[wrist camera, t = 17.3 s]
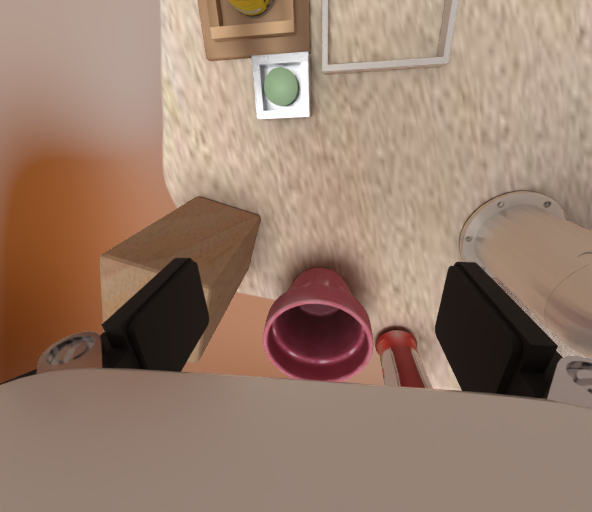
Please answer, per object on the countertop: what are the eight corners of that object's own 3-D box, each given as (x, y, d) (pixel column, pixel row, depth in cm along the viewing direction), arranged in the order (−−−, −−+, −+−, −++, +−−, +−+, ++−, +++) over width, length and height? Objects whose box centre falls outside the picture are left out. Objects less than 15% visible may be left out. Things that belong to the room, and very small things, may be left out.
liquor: (414, 355, 50) (495, 589, 26) (373, 355, 52) (411, 579, 27) (417, 323, 47) (513, 554, 22) (373, 324, 48) (417, 545, 24)
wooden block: (190, 252, 46) (101, 338, 28) (197, 194, 41) (96, 254, 24) (248, 270, 46) (196, 366, 29) (261, 215, 42) (210, 289, 24)
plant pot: (376, 310, 47) (390, 372, 36) (301, 333, 51) (293, 395, 40) (343, 238, 42) (347, 284, 31) (263, 270, 46) (240, 321, 35)
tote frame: (463, -76, 26) (473, -92, 24) (440, 66, 31) (448, 63, 29) (322, -59, 28) (322, -72, 26) (322, 74, 33) (322, 71, 31)
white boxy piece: (310, 58, 32) (308, 51, 29) (311, 116, 35) (309, 116, 31) (259, 62, 33) (251, 55, 30) (264, 118, 36) (257, 119, 32)
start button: (298, 69, 31) (296, 65, 29) (300, 105, 33) (297, 104, 31) (267, 71, 32) (262, 68, 30) (269, 107, 33) (265, 106, 31)
